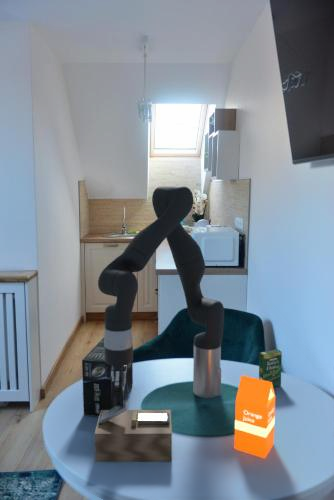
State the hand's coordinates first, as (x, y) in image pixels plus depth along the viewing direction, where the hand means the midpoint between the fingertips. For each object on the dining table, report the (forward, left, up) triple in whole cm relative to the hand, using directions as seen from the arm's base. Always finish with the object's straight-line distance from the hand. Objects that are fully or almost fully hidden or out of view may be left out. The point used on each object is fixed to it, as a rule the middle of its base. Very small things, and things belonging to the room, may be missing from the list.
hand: (119, 404), depth 120 cm
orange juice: (-37, -1, -13) cm, 39 cm away
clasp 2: (-9, 0, -5) cm, 10 cm away
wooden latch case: (-4, 0, -13) cm, 13 cm away
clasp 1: (+1, 0, -3) cm, 3 cm away
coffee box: (-50, -37, -13) cm, 63 cm away
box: (+6, -28, -13) cm, 31 cm away
